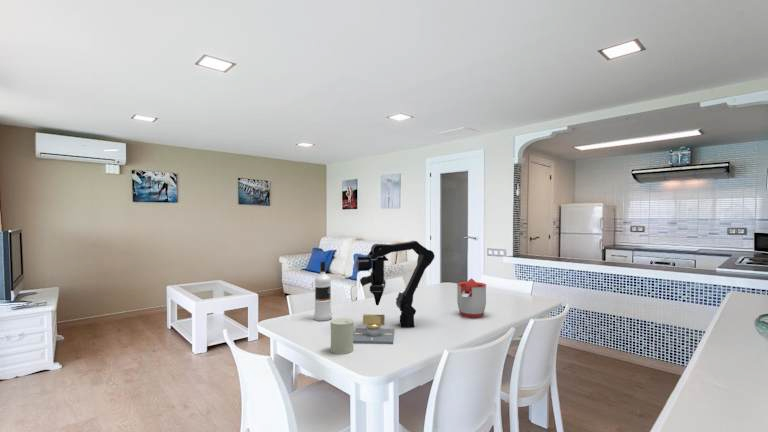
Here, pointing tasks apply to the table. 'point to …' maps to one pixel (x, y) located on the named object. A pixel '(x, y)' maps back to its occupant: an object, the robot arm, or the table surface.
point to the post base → (373, 336)
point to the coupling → (373, 321)
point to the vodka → (322, 295)
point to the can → (341, 336)
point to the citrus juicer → (471, 298)
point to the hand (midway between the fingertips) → (378, 302)
